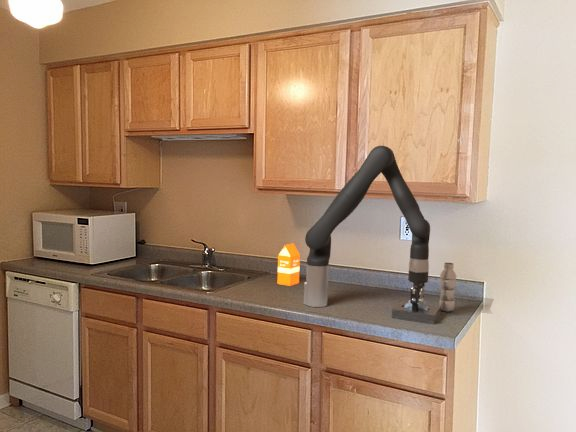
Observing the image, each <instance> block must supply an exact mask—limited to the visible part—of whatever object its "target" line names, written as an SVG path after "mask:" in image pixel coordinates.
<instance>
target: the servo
mask: <svg viewBox="0 0 576 432" xmlns="http://www.w3.org/2000/svg"><path fill="white" fill-rule="evenodd" d="M414 301H416V299H414ZM407 302H408V304H406V305H405V306H404V307H405V308H409V309H410V310H412V303H410V299H409V300H408V301H407ZM426 305H427V301H426V300H424V297H423V298H420V299H419V304H418V311H421V310H423V311H425V310H426V311H428V310H429V308H430V307H428V306H426Z"/></svg>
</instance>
